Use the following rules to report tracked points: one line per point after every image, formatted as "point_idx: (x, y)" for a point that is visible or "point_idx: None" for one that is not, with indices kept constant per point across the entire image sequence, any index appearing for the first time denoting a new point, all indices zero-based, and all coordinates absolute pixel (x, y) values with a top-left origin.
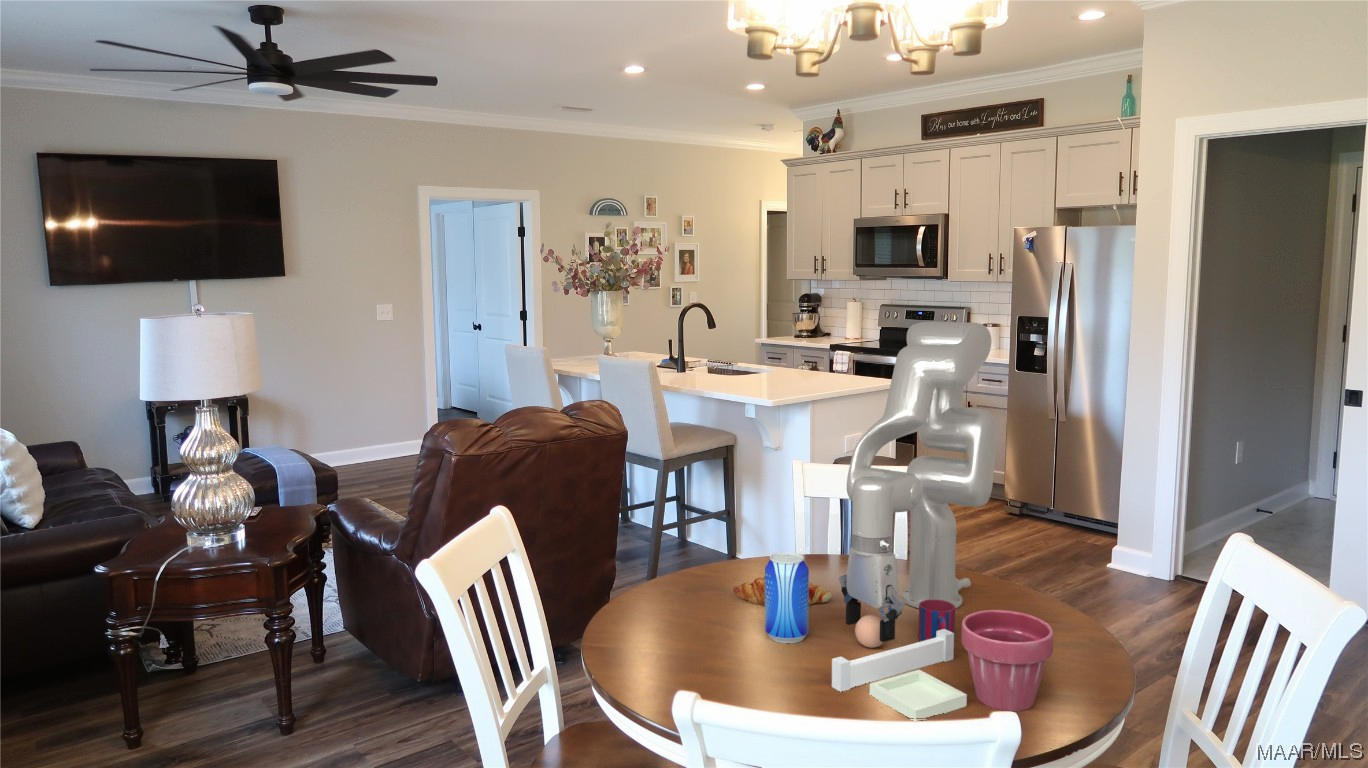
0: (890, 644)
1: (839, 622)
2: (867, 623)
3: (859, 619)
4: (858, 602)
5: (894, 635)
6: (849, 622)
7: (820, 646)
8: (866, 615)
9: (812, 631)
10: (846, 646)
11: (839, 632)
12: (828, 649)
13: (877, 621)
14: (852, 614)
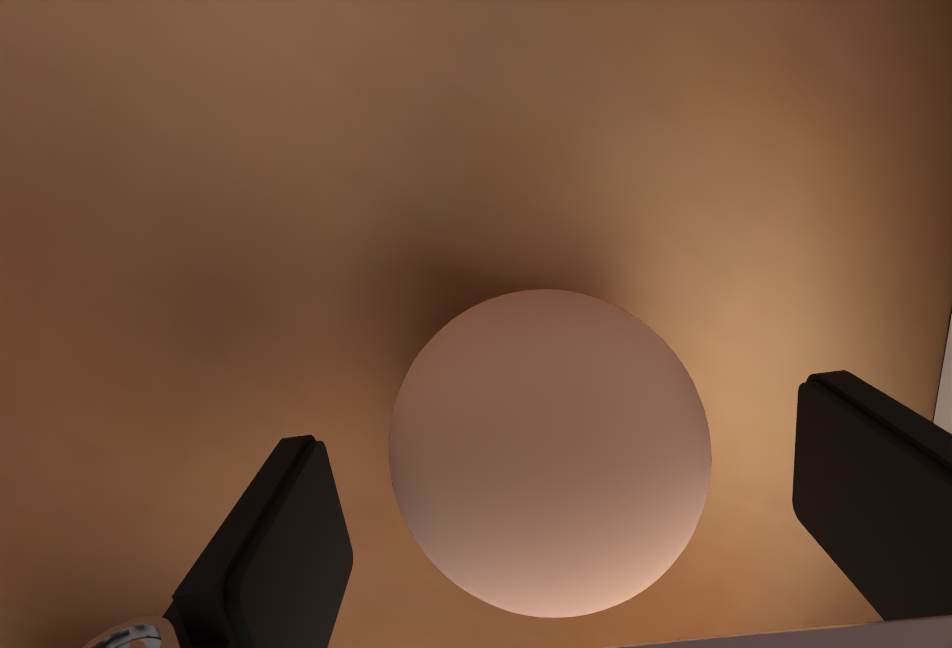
0: (559, 216)
1: (8, 352)
2: (628, 598)
3: (447, 576)
4: (205, 620)
5: (860, 384)
6: (348, 567)
7: (397, 638)
8: (491, 566)
9: (152, 584)
10: None
11: (211, 446)
12: (456, 621)
13: (676, 516)
14: (318, 598)
